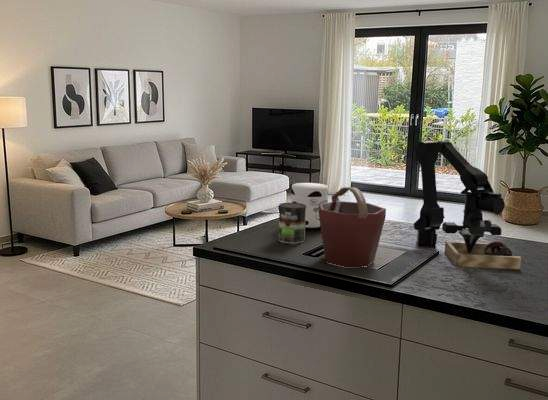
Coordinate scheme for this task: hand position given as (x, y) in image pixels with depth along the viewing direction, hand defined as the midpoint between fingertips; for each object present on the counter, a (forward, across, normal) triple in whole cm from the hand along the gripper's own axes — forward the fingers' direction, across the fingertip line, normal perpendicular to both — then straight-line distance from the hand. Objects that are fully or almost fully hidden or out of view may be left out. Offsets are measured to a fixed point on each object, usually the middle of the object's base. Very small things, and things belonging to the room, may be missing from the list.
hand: (469, 252), depth 191 cm
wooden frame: (+2, +4, 0) cm, 5 cm away
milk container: (+3, -57, +39) cm, 69 cm away
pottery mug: (+3, +10, 0) cm, 10 cm away
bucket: (+3, -42, -8) cm, 42 cm away
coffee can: (+3, -63, +15) cm, 64 cm away
